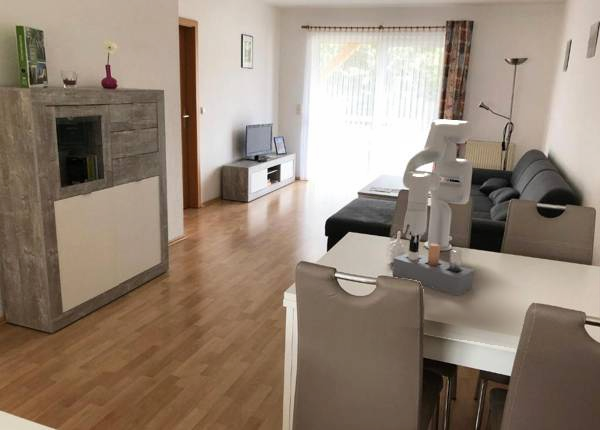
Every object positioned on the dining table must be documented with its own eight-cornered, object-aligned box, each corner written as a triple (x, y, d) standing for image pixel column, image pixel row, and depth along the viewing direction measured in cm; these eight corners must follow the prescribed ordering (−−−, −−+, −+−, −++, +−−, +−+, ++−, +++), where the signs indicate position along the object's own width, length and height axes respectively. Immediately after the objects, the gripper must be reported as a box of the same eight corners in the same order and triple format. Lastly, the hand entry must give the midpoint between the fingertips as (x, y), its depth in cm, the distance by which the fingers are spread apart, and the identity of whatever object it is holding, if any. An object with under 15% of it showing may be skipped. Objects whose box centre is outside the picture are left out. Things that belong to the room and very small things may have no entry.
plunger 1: (410, 267, 204) (412, 248, 202) (419, 270, 201) (420, 251, 199) (405, 269, 201) (406, 250, 199) (413, 272, 199) (415, 253, 197)
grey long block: (409, 267, 209) (411, 251, 208) (472, 287, 190) (474, 270, 188) (392, 274, 201) (393, 258, 199) (456, 295, 182) (458, 277, 180)
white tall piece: (403, 260, 218) (405, 229, 215) (404, 265, 212) (407, 233, 209) (386, 259, 219) (388, 228, 215) (387, 264, 213) (389, 232, 209)
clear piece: (452, 268, 190) (454, 248, 189) (461, 271, 188) (464, 251, 186) (446, 271, 188) (448, 250, 186) (456, 274, 185) (458, 253, 183)
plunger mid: (431, 262, 197) (433, 243, 195) (440, 265, 194) (442, 245, 192) (425, 264, 194) (427, 245, 192) (434, 267, 191) (436, 247, 189)
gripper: (419, 202, 203) (416, 245, 207) (398, 206, 192) (394, 252, 197) (436, 205, 197) (432, 250, 202) (415, 210, 187) (410, 257, 191)
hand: (413, 251), depth 199 cm, fingers closed
